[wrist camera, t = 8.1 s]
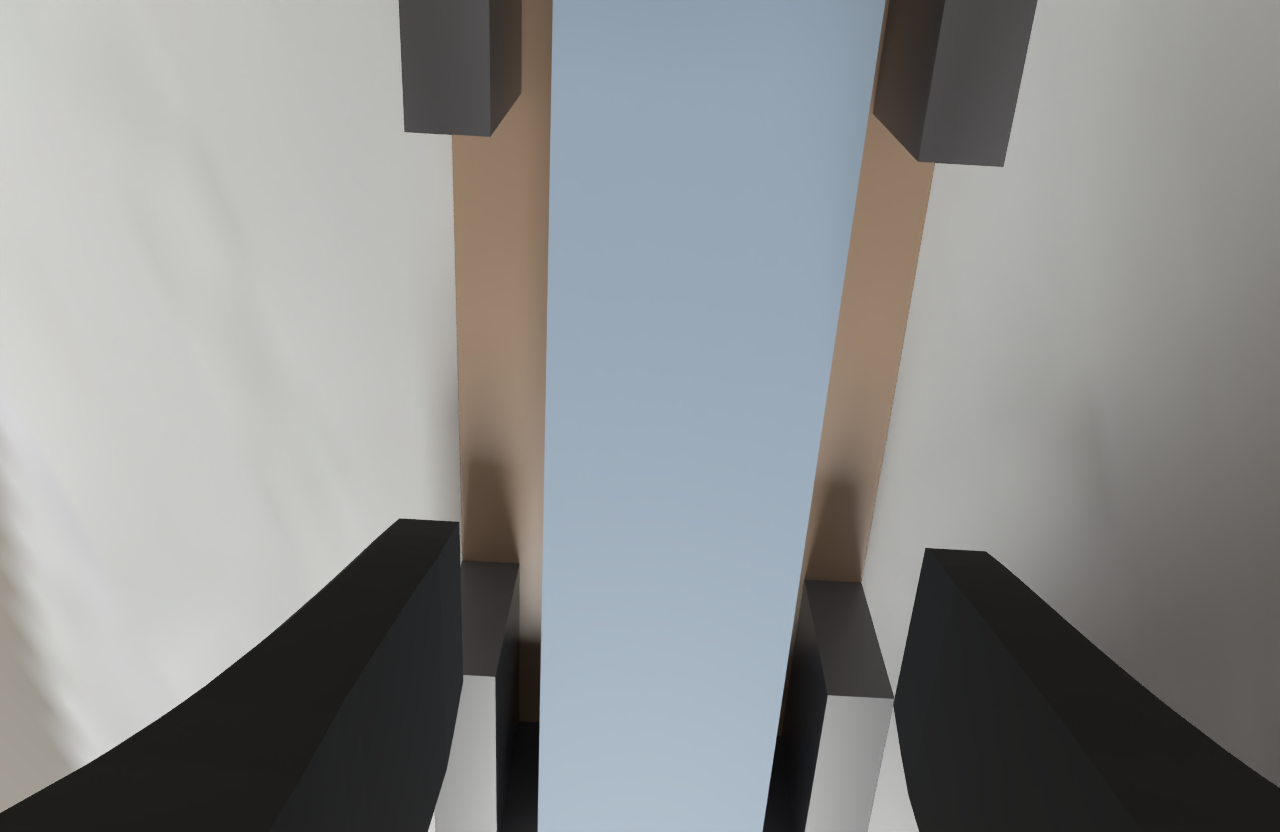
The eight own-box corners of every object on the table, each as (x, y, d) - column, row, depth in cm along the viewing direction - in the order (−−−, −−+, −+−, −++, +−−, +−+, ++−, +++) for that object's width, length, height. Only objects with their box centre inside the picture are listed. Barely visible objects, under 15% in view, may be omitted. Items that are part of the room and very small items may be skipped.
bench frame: (991, -256, 14) (1099, -304, 10) (821, 748, 21) (850, 910, 18) (453, -288, 14) (383, -347, 10) (473, 728, 21) (437, 887, 18)
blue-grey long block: (850, -121, 14) (904, -125, 11) (743, 711, 20) (757, 864, 17) (580, -138, 14) (555, -147, 11) (557, 701, 20) (537, 851, 17)
